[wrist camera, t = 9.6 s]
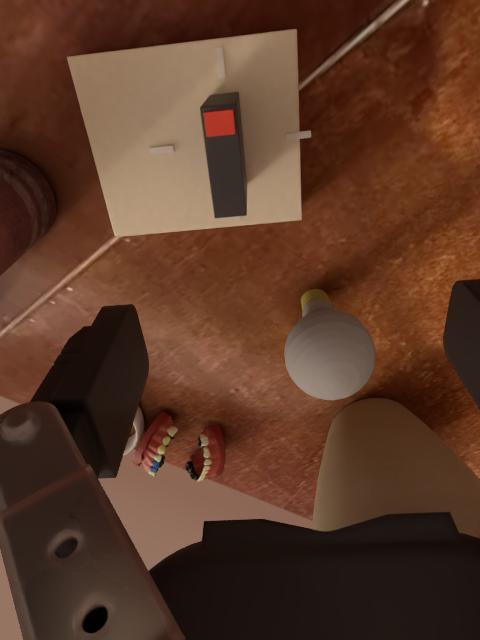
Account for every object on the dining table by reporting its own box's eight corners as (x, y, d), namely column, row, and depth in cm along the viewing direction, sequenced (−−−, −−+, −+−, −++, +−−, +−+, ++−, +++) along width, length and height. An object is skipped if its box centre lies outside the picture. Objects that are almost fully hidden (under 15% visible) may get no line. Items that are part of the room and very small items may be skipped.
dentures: (212, 500, 40) (125, 482, 38) (214, 462, 43) (134, 444, 42) (232, 462, 37) (139, 441, 35) (232, 425, 40) (148, 404, 39)
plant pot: (485, 427, 40) (606, 622, 26) (353, 496, 46) (397, 686, 32) (392, 329, 34) (485, 514, 21) (255, 422, 40) (259, 614, 27)
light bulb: (328, 336, 35) (353, 429, 26) (266, 313, 34) (272, 402, 25) (364, 280, 32) (405, 364, 24) (298, 253, 31) (316, 331, 23)
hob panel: (124, 223, 30) (114, 238, 28) (81, 55, 25) (65, 56, 23) (307, 206, 29) (312, 220, 27) (303, 28, 24) (309, 27, 22)
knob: (247, 185, 26) (246, 217, 21) (220, 187, 26) (214, 220, 21) (239, 91, 23) (236, 103, 18) (209, 95, 23) (199, 107, 19)
